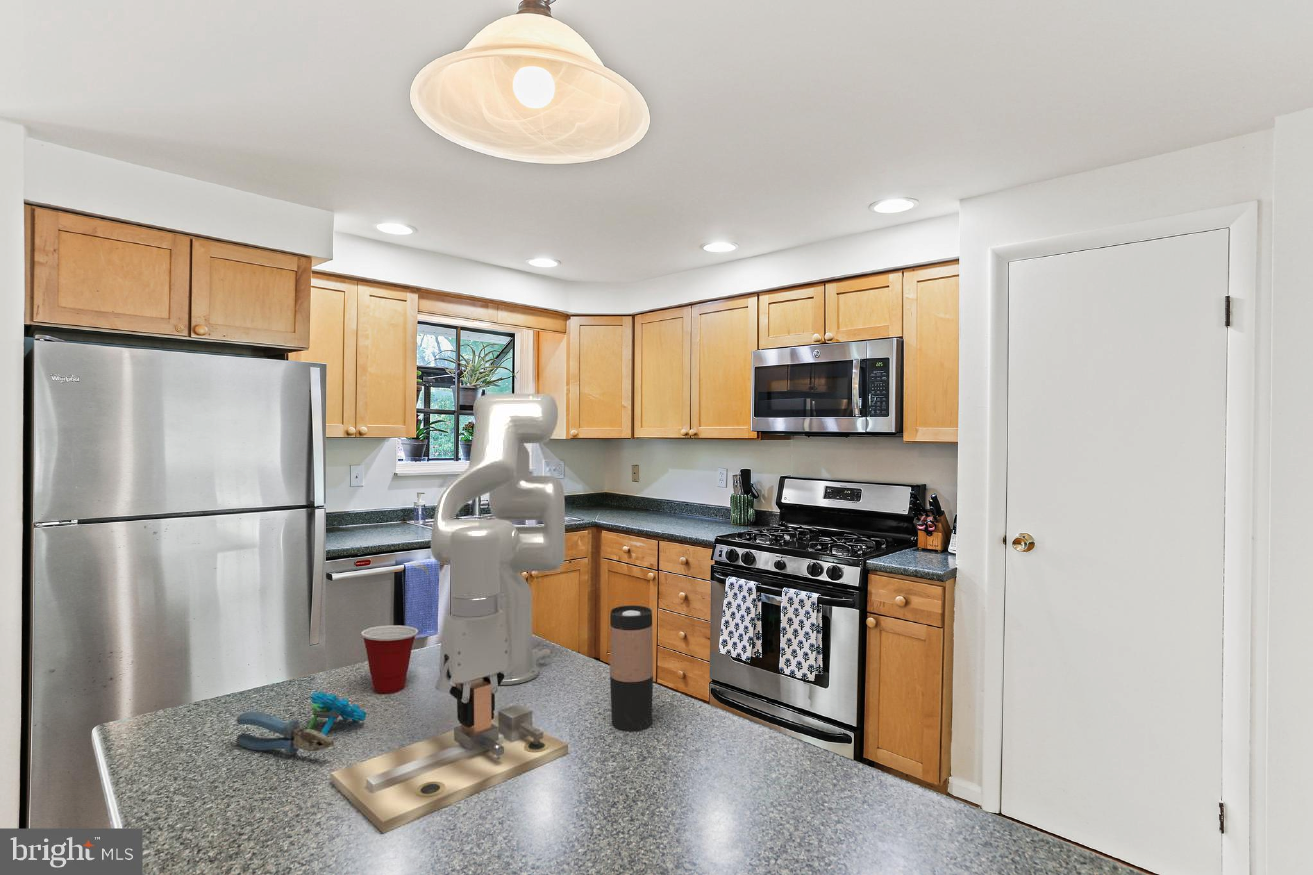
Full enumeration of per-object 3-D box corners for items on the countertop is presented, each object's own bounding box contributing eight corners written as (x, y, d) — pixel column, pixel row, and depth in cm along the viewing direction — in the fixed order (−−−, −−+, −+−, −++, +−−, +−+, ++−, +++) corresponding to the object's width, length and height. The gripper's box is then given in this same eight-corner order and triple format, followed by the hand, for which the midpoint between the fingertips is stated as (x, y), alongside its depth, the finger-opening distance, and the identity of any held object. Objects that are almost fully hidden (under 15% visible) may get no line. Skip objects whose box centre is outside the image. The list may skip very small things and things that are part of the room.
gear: (380, 715, 118) (340, 688, 113) (362, 749, 114) (320, 723, 109) (339, 712, 124) (299, 686, 118) (321, 744, 120) (279, 719, 114)
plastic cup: (427, 688, 135) (427, 629, 135) (373, 703, 128) (373, 641, 128) (405, 674, 143) (405, 619, 143) (353, 688, 136) (352, 629, 136)
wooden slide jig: (506, 720, 120) (506, 689, 120) (568, 753, 107) (567, 719, 107) (331, 782, 99) (331, 745, 99) (382, 833, 86) (382, 790, 86)
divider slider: (482, 735, 109) (481, 675, 109) (514, 755, 103) (514, 690, 102) (454, 745, 106) (453, 683, 106) (486, 766, 99) (485, 700, 99)
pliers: (336, 761, 105) (336, 724, 105) (325, 768, 103) (324, 730, 103) (245, 741, 112) (245, 706, 112) (233, 747, 110) (233, 711, 110)
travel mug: (601, 722, 119) (601, 610, 119) (634, 710, 124) (634, 602, 124) (628, 736, 113) (628, 618, 113) (662, 723, 118) (661, 610, 118)
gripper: (507, 592, 114) (507, 699, 114) (415, 610, 102) (415, 730, 102) (532, 599, 109) (533, 712, 109) (438, 620, 97) (439, 746, 97)
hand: (476, 719), depth 106 cm, fingers closed on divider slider, 3 cm apart
